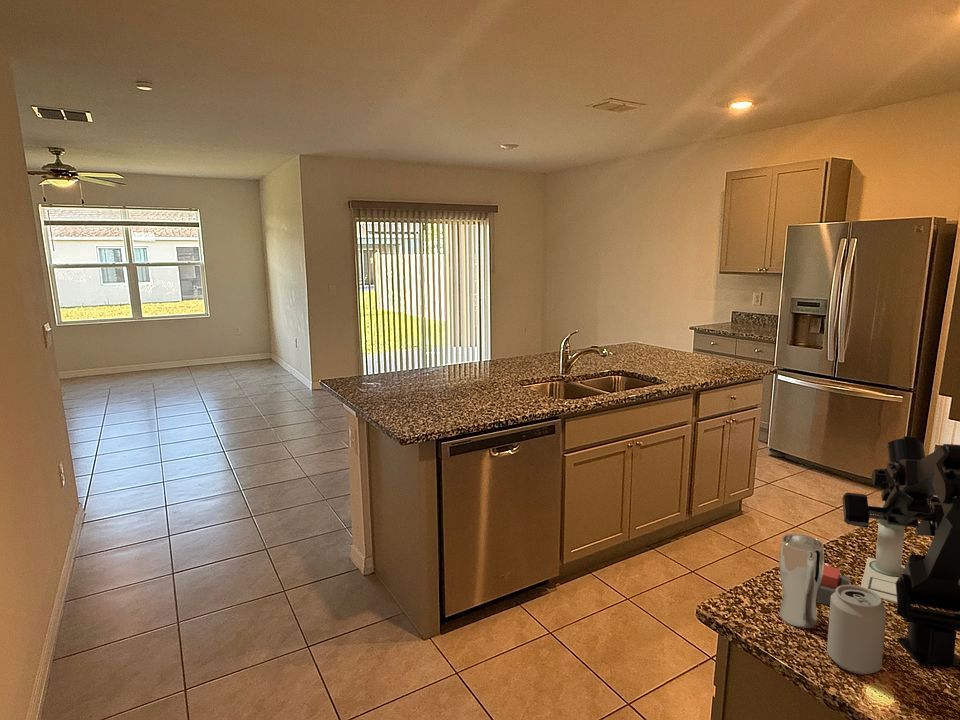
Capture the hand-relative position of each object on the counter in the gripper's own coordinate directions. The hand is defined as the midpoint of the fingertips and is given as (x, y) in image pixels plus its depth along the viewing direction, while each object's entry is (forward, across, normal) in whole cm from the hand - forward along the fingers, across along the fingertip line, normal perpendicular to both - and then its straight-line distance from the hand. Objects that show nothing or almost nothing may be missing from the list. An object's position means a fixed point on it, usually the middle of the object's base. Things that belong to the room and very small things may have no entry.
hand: (889, 529), depth 119 cm
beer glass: (-13, +19, +25) cm, 34 cm away
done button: (-7, +13, +16) cm, 22 cm away
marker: (+5, 0, +7) cm, 8 cm away
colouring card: (+2, +1, +10) cm, 11 cm away
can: (-20, +12, +32) cm, 39 cm away
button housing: (-5, +13, +17) cm, 22 cm away
